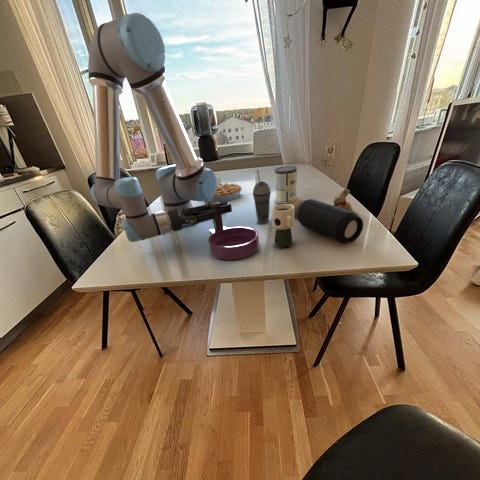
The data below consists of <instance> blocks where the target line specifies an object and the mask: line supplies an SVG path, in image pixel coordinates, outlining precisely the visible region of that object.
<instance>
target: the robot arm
mask: <svg viewBox="0 0 480 480" xmlns="http://www.w3.org/2000/svg"><path fill="white" fill-rule="evenodd" d="M165 53H166V47H165V42H164V39H163V37H162V34H161V33H160V31H159V28H157V26H156V25H155V23H154V22H153V21H152V20H151V19H150V18H148V17H147V16H146V15H144V14H143V13H141V12H132V13H125V14H123V15H121V16H119V17H116V18H114V19H112V20H110V21H107V22H104V23H101V24H100V25H98V26H97V27H96V28H95V31H93V34H92V36H91V40H90V43H89V49H88V60H87V61H88V64H87V68H88V71H87V73H88V83H89V84H90V86H91V87H92V102H93V128H94V129H93V132H94V154H95V155H94V156H95V157H94V158H95V159H94V160H95V183H94V184H92V186H91V188H90V197H91V199H92V200H93V202H95V204H97V205H99V206H102V207H105V208H113V209H119V210H123V212H124V216H125V219H124V220H122V221H121V225H122V228H123V231H124V233H125V235H126V239H127V240H128V242H131V243H134V242H135V243H136V242H139V241H140V242H141V241H145V240H149V239H151V238H155V237H158V236H166V234H170V233H172V232H174V233H175V232H178V231H179V232H180V231H182V230H183V228H185V227H189V226H196V225H199V224H200V223H204V222H207V221H210V220H213V219H216V218H217V217H216V216H217V215H221V216H222V215H225V214H228V213H232V212H233V209H232V207H233V206H232V204H231V203H228V201H224V202H219V203H220V206H219V207H215V208H214V209H211V206H210V203H211V202H210V201H209V200H210V199H211V198H212V197H213V196H214V194H215V191H216V186H217V185H218V184H217V183H218V182H217V176H216V173H215V171H213V170H212V169H210V168H207V167H206V165H205V162H204V160H203V159H202V158H201V157H198V156H197V154H196V152H195V149H194V147H193V145H192V142H191V140H190V137H189V135H188V132H187V130H186V127H185V125H184V124H183V123H184V122H183V121H182V118H181V115H180V114H179V111H178V109H177V107H176V105H175V102H174V100H173V97H172V95H171V93H170V90H169V88H168V85H167V82H166V80H165V79H166V74H167V70H166V67H165V63H166V58H167V57H166V54H165ZM125 79H126V80H127V82H128V85H129V87H130V88H131V90H132V91H134V92H136V93H138V94H139V95H140V97H141V99H142V102H143V104H144V105H145V107H146V109H147V111H148V113H149V115H150V118H151V119H152V122H153V123H154V126H155V127H156V130H157V131H158V133H159V135H160V137H161V140H162V142H163V144H164V146H165V148H166V149H167V151H168V153H169V155H170V158H171V159H172V162H173V164H171V165H166V166H162V167H160V168H158V169H157V170H156V171H155V175H156V181H157V184H158V188H159V192H160V196H161V200H162V202H163V206H164V209H163V210H161V211H157V212H153V213H149V210H148V206H147V204H146V200H145V196H144V192H143V189H142V186H141V184H140V182H139V179H138V178H137V177H134V176H128V177H121V120H120V119H121V115H120V113H121V111H120V110H121V108H120V105H121V104H120V103H121V102H120V101H121V100H120V99H121V98H120V95H122V94H123V93H124V81H125ZM191 201H193V202H199V203H202V202H208V203H207V204H202V205H198V206H197V205H196V206H193V204H192V202H191Z"/></svg>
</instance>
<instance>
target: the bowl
mask: <svg viewBox="0 0 480 480" xmlns="http://www.w3.org/2000/svg"><path fill="white" fill-rule="evenodd" d="M208 246H209V252H210V254H211V256H213V257H214V258H216V259H219V260H230V261H231V260H232V261H233V260H239V259H243V258H247V257H249V256H252V255H254V254H255V253H257V252H258V250H259V249H260V240H259V232H258V231H257V230H256V229H254V228H251V227H247V226H233V227H226V229H222V230H219V231H217V232H215V233H213V234H212V235H211V236H210V235H209V237H208Z"/></svg>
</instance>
